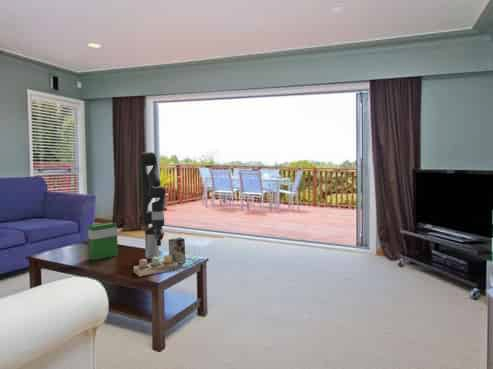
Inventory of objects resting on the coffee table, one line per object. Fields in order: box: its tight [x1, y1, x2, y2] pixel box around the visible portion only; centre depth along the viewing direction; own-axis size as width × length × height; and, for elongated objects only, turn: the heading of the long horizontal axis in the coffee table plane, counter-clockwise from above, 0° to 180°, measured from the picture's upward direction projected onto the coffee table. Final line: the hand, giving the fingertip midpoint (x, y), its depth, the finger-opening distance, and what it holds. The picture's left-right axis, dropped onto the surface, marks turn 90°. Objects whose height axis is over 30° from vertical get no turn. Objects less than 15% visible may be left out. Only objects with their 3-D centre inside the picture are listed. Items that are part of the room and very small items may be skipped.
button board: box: [132, 260, 179, 277], centre depth 234 cm, size 11×25×4 cm, turn 124°
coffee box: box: [168, 237, 186, 264], centre depth 250 cm, size 9×6×16 cm
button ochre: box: [163, 254, 172, 264], centre depth 238 cm, size 5×5×5 cm
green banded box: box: [87, 221, 119, 261], centre depth 266 cm, size 18×7×24 cm, turn 137°
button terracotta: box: [138, 258, 148, 269], centre depth 229 cm, size 5×5×5 cm
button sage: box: [151, 256, 161, 267], centre depth 233 cm, size 5×5×5 cm
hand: (158, 245), depth 233 cm, fingers closed
